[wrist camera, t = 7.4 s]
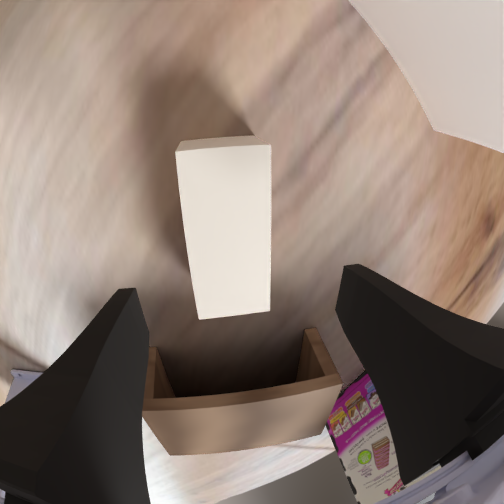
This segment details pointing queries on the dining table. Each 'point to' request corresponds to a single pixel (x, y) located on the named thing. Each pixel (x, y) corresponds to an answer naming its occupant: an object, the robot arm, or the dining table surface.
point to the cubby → (243, 408)
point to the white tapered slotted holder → (448, 60)
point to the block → (227, 222)
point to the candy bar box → (365, 443)
